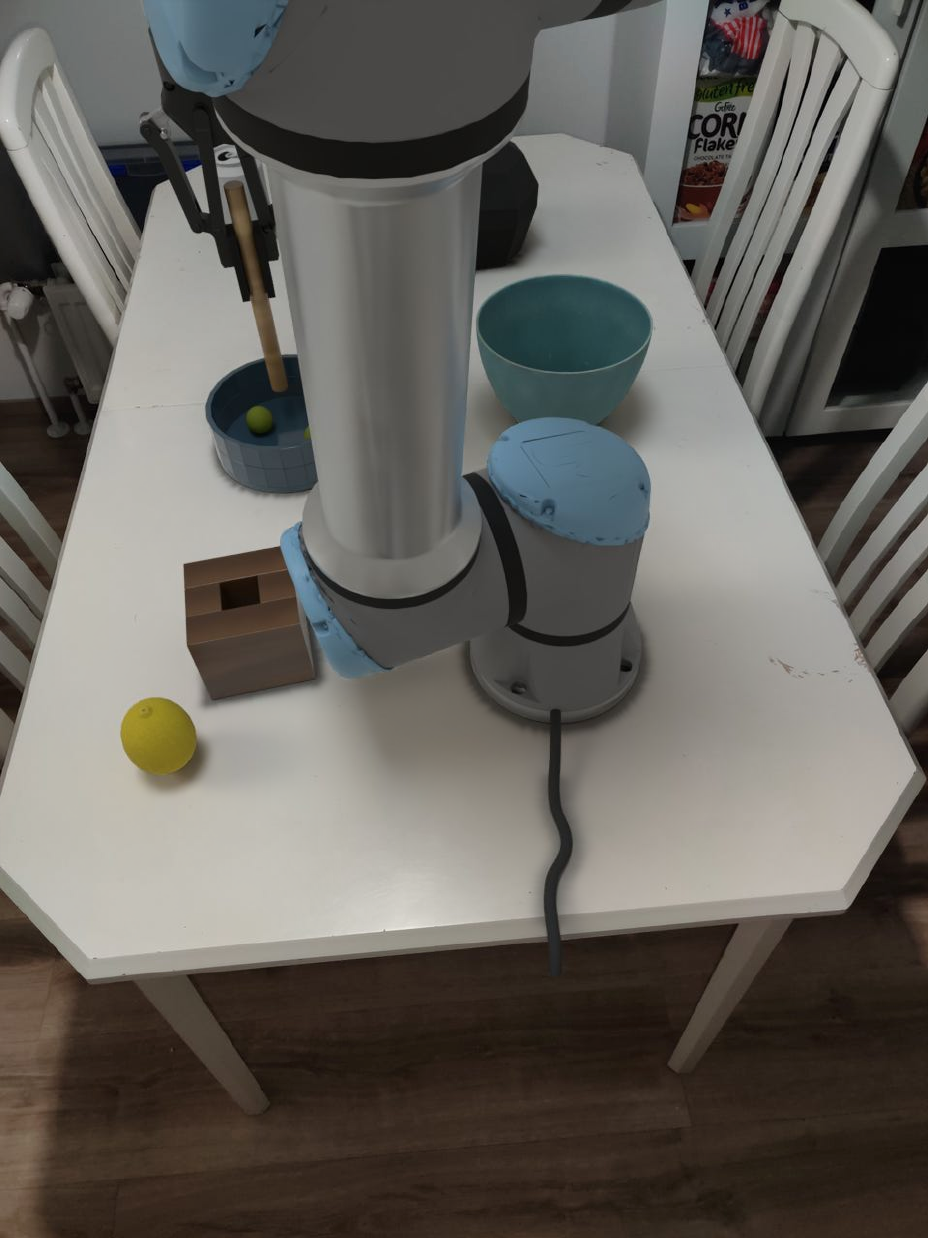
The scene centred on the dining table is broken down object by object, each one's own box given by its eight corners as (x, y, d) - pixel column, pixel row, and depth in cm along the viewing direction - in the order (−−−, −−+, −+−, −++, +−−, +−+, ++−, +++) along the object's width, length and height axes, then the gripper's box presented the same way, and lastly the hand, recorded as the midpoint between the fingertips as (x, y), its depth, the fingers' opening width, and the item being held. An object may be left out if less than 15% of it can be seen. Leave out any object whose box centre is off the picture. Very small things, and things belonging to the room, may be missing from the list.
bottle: (430, 217, 128) (416, -28, 104) (541, 223, 126) (552, -25, 103) (409, 275, 118) (389, 19, 95) (529, 282, 116) (539, 23, 93)
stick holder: (315, 678, 77) (300, 623, 71) (211, 700, 76) (186, 645, 70) (303, 601, 83) (288, 544, 77) (206, 620, 82) (182, 563, 75)
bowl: (375, 478, 93) (369, 434, 89) (223, 504, 91) (209, 461, 87) (352, 387, 103) (346, 344, 98) (215, 410, 101) (201, 366, 96)
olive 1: (276, 436, 97) (271, 415, 94) (249, 441, 96) (243, 419, 94) (274, 420, 99) (269, 398, 96) (247, 424, 98) (241, 402, 96)
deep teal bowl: (448, 398, 101) (444, 303, 92) (578, 350, 107) (587, 255, 97) (531, 490, 91) (536, 395, 82) (669, 432, 97) (689, 336, 87)
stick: (289, 390, 95) (244, 187, 77) (272, 393, 94) (223, 190, 77) (287, 380, 96) (242, 178, 78) (271, 383, 96) (222, 181, 78)
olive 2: (335, 453, 95) (331, 431, 92) (308, 458, 94) (303, 436, 92) (332, 436, 97) (328, 414, 94) (305, 440, 96) (300, 419, 94)
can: (230, 224, 128) (209, 138, 119) (280, 224, 128) (263, 138, 118) (219, 250, 124) (196, 163, 114) (271, 250, 123) (253, 163, 114)
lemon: (126, 770, 72) (91, 719, 66) (174, 721, 75) (145, 668, 69) (173, 803, 70) (142, 754, 64) (221, 752, 73) (195, 700, 67)
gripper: (284, -10, 71) (327, 262, 89) (98, 10, 69) (181, 283, 87) (295, 22, 66) (337, 301, 85) (95, 44, 64) (183, 324, 83)
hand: (258, 291), depth 86 cm, fingers closed on stick, 2 cm apart
